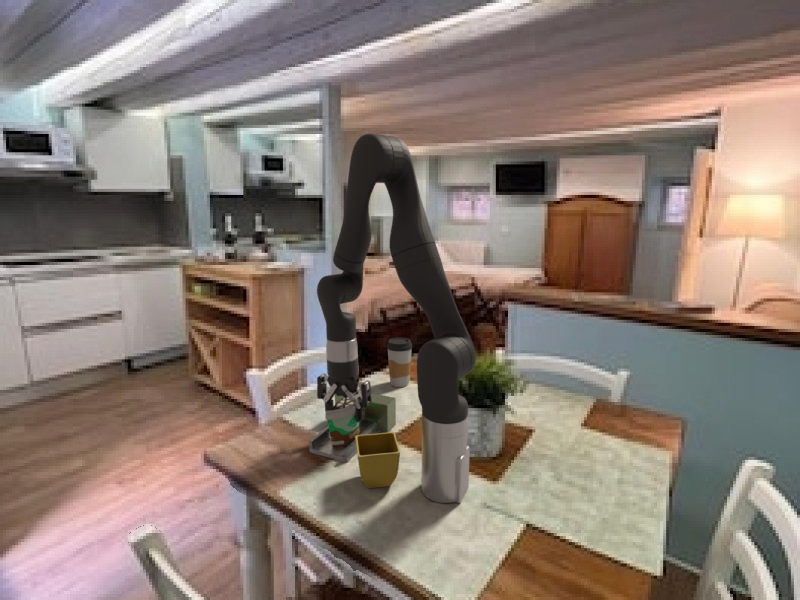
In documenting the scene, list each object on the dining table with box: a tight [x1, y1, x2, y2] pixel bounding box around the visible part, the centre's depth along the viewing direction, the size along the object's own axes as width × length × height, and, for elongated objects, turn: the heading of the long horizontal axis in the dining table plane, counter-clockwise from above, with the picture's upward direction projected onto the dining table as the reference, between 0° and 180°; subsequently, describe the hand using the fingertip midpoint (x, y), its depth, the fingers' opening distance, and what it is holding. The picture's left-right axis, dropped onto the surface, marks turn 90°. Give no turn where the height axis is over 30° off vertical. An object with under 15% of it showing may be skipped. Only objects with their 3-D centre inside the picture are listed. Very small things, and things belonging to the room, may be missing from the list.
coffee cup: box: [386, 337, 413, 388], centre depth 147 cm, size 8×8×15 cm
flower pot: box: [355, 431, 401, 489], centre depth 95 cm, size 9×9×9 cm
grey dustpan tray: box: [308, 390, 397, 463], centre depth 114 cm, size 16×21×8 cm
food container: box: [324, 394, 360, 448], centre depth 110 cm, size 12×6×10 cm, turn 163°
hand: (344, 417), depth 111 cm, fingers open, 8 cm apart
